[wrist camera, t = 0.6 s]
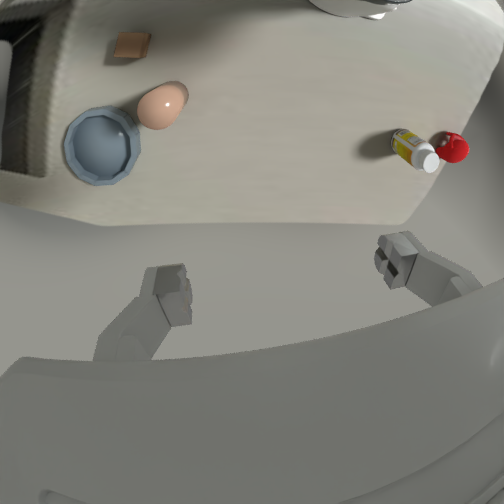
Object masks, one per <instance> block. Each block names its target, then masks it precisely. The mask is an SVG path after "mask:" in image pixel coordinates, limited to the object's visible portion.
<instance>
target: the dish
mask: <svg viewBox="0 0 504 504" xmlns="http://www.w3.org/2000/svg"><path fill="white" fill-rule="evenodd" d="M64 148H65V154H66V160H67V162H68V165H69V166H70V167H71V169H72V170H73V171H74V173H75V174H76V175H77V177H79V178H80V179H82V180H84V181H86V182H88V183H90V184H92V185H94V186H101V185H114V184H115V183H117V182H118V181H120V180H121V179H123V178H124V177H126V176H127V175H128V174H129V173H130V171H131V170H132V168H133V166H134V164H135V162H136V160H137V158H138V156H139V154H140V151H141V146H140V132H139V129H138V128H137V126H136V125H135V123H134V122H133V120H132V119H131V117H130V116H129V114H128V113H125V112H123V111H121V110H119V109H117V108H115V107H113V106H102V107H96V108H91V109H89V110H87V111H85V112H84V113H83V114H82V115H80V116H79V117H78V118H77V119H76V120H75V121H74V122H73V123H72V124H70V126H69V129H68V132H67V135H66V138H65V141H64Z"/></svg>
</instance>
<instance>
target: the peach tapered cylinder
mask: <svg viewBox="0 0 504 504" xmlns="http://www.w3.org/2000/svg"><path fill="white" fill-rule="evenodd" d="M188 96H189V94H188V90H187V88H186V86H185V85H184V84H182V83H181V82H178V81H169V82H166V83H164V84H163V85H161V86H159V87H157V88H156V89H154V90H152V91H150V92H149V93H147V94H146V95H144V96H143V97H142V99H141V100H140V102H139V104H138V107H137V114H138V118H139V120H140V122H141V123H142V124H143V125H144V126H146V127H147V128H150V129H154V130H160V129H164V128H166V127H168V126H170V125H171V124H172V123H173V122H174V121H175V119H176V118H177V116H178V115H179V113H180V112H181V110H182V109H183V107H184V106H185V104H186V103H187V101H188Z"/></svg>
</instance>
